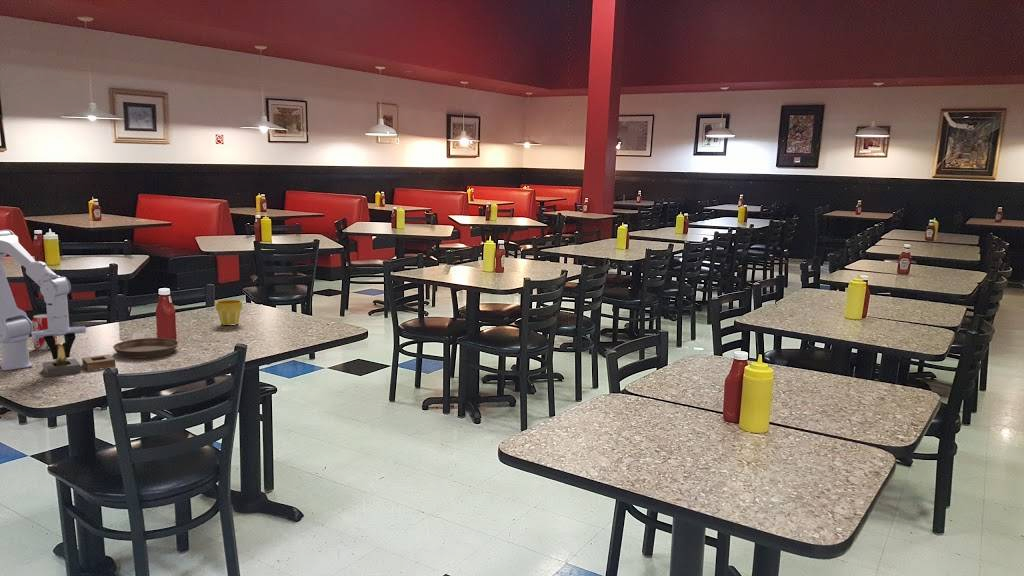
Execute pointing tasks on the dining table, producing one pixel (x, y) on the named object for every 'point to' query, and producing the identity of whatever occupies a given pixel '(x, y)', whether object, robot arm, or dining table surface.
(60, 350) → the brass pin
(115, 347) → the plant saucer
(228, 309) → the plant pot
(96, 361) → the block
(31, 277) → the robot arm
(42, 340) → the soda can
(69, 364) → the grey slotted block
